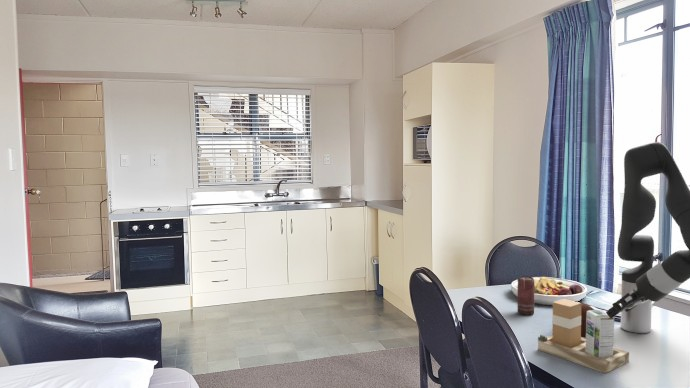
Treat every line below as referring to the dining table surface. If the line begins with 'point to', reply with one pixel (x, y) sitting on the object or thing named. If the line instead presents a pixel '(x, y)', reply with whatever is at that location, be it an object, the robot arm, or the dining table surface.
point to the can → (526, 296)
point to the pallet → (583, 355)
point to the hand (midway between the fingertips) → (616, 312)
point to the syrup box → (599, 334)
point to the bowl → (553, 290)
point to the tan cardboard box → (566, 323)
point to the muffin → (584, 318)
